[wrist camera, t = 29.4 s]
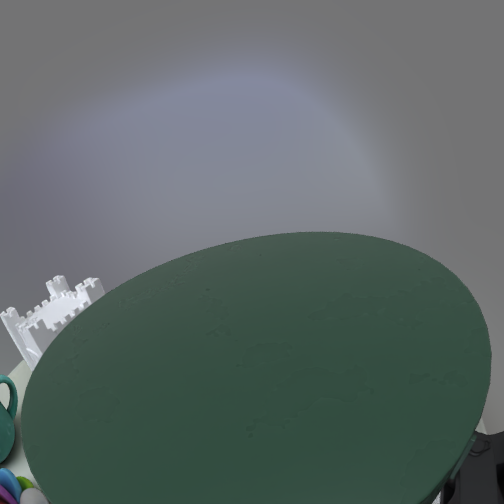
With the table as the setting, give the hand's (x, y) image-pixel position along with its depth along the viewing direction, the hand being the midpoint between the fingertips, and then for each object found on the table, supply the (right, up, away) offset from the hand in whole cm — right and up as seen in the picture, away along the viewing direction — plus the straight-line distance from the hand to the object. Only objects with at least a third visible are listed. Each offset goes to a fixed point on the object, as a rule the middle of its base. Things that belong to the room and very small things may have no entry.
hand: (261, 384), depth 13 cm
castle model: (-28, -15, +32) cm, 45 cm away
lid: (-1, +4, -6) cm, 8 cm away
